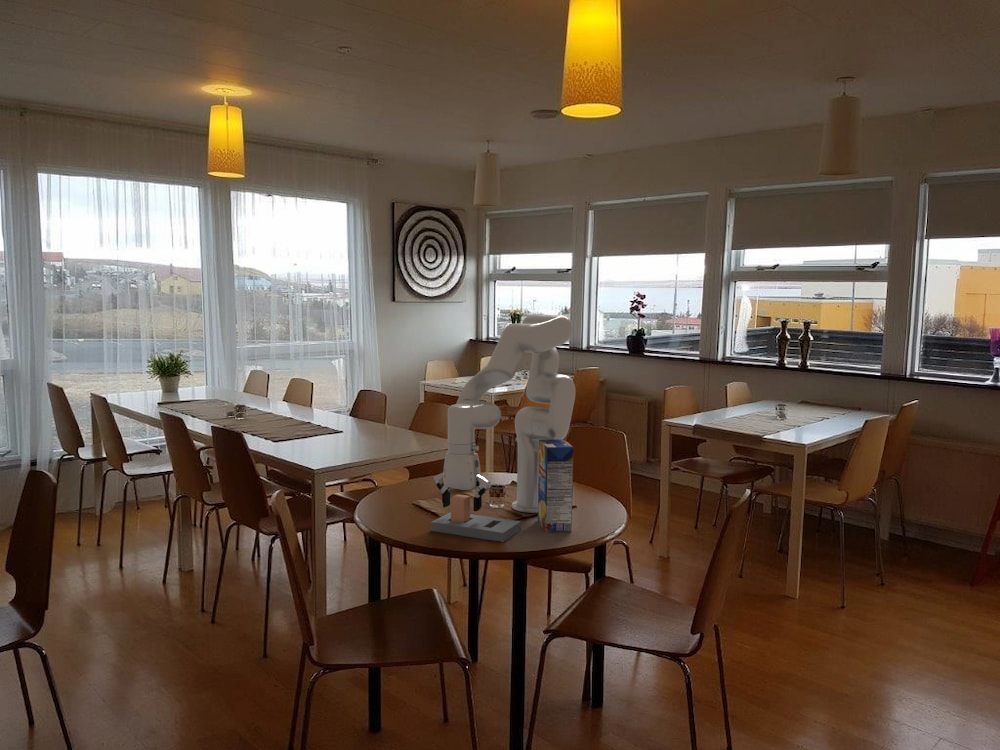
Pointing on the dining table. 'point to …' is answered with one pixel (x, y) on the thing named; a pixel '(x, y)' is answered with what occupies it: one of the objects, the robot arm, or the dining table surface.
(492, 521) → the socket board
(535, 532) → the dining table surface
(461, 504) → the square peg
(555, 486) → the juice carton
